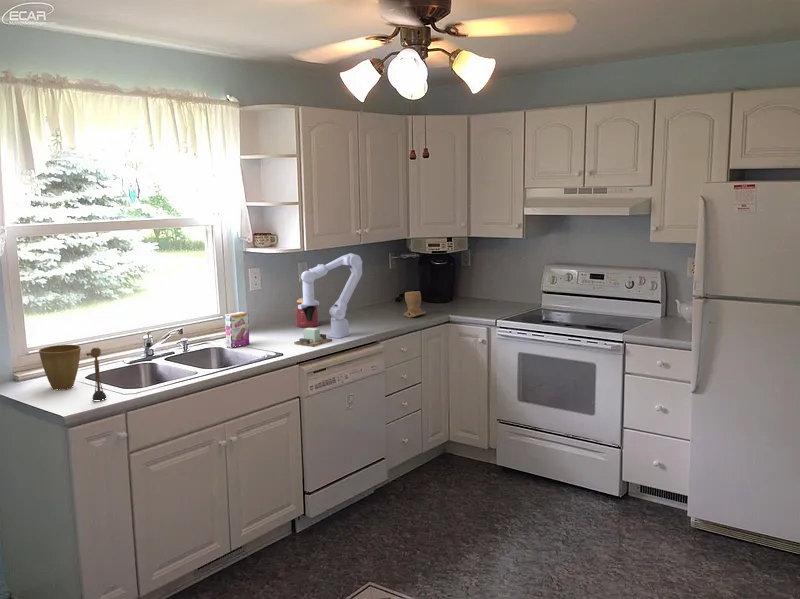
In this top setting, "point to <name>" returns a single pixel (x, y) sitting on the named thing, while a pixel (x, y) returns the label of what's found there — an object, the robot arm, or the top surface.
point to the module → (312, 334)
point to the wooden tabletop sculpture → (97, 374)
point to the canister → (301, 317)
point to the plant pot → (60, 364)
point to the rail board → (310, 342)
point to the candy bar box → (237, 329)
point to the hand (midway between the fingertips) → (309, 320)
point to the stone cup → (413, 304)
